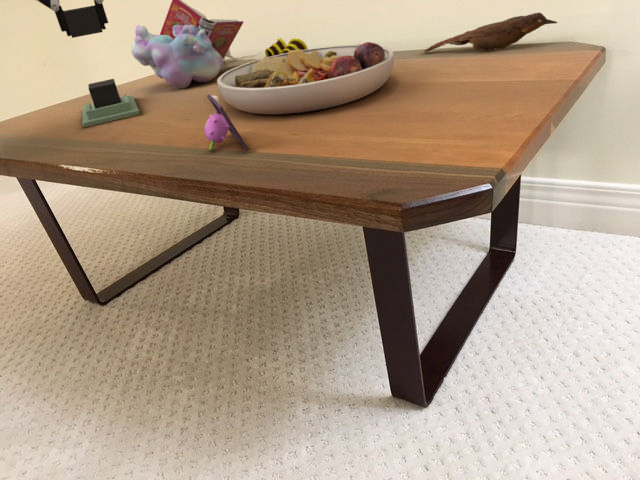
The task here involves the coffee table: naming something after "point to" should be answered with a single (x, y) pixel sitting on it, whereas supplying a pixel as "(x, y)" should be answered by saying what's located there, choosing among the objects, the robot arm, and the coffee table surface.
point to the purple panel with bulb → (220, 125)
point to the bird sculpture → (498, 33)
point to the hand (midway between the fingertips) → (86, 30)
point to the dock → (109, 112)
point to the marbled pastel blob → (186, 45)
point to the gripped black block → (82, 21)
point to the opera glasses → (285, 47)
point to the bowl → (307, 79)
